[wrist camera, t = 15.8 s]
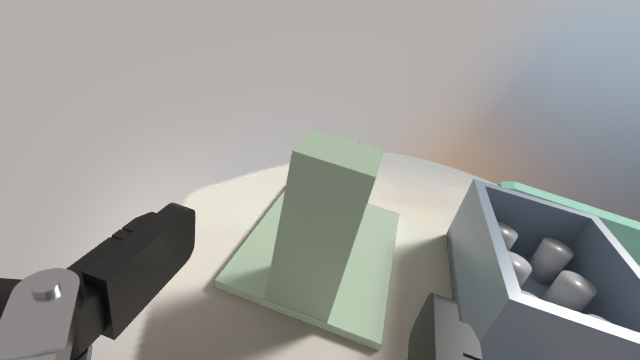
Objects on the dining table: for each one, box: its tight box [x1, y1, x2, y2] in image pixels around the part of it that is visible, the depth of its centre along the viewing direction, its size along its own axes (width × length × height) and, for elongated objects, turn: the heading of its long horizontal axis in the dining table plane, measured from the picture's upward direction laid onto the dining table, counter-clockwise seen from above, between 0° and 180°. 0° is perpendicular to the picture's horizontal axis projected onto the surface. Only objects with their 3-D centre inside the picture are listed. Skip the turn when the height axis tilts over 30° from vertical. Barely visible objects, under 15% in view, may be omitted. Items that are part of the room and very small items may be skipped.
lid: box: [214, 128, 399, 351], centre depth 25 cm, size 11×15×11 cm
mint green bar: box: [497, 181, 640, 267], centre depth 33 cm, size 6×6×25 cm
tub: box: [447, 179, 640, 360], centre depth 24 cm, size 10×14×6 cm
